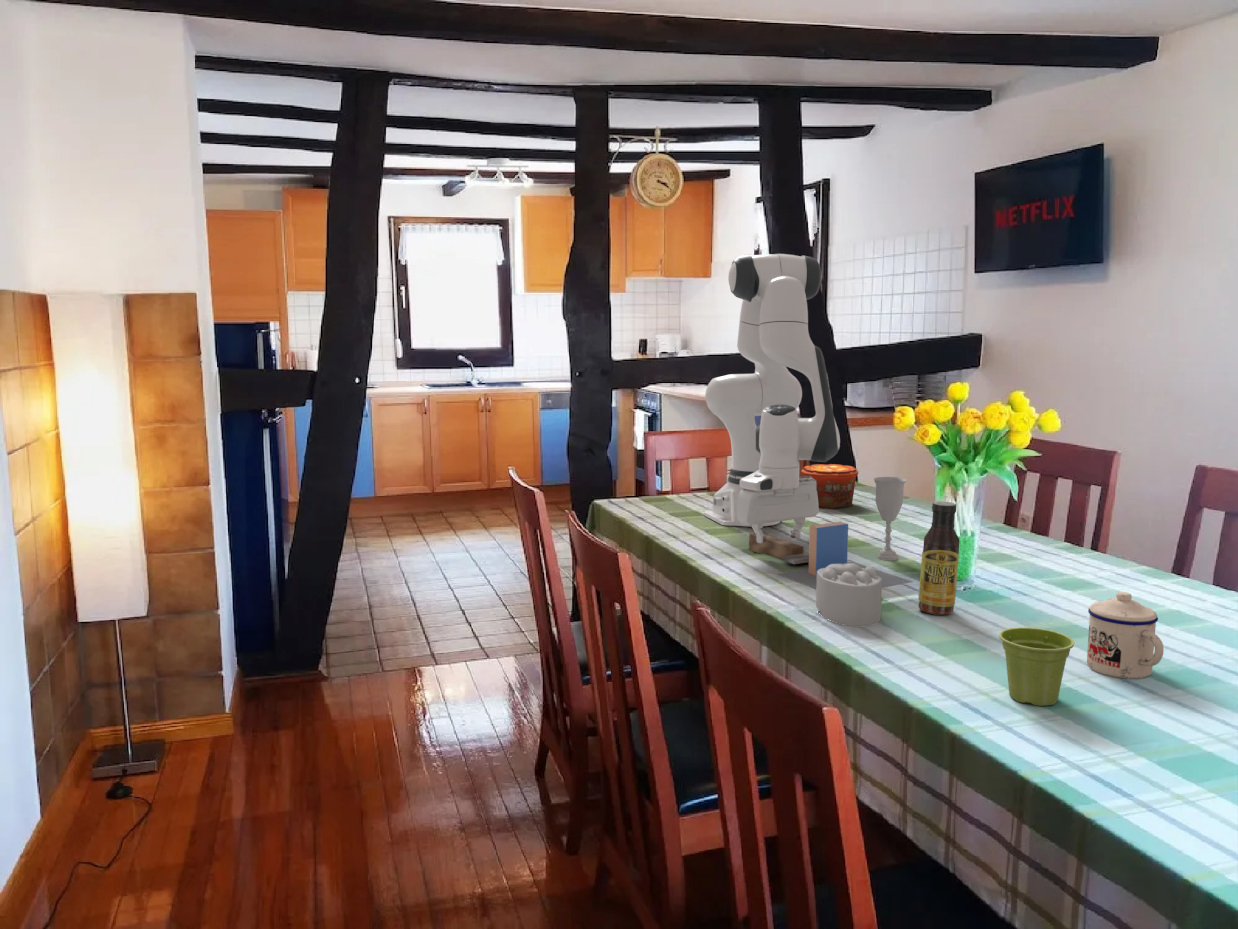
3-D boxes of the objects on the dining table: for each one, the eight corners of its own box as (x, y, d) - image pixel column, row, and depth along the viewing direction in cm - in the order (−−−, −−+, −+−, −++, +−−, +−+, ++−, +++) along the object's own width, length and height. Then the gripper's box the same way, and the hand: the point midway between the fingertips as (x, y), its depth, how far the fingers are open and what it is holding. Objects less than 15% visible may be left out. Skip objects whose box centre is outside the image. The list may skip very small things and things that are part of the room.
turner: (740, 552, 214) (740, 534, 213) (768, 547, 217) (768, 531, 217) (794, 571, 196) (794, 553, 195) (824, 566, 200) (824, 548, 199)
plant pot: (982, 688, 132) (984, 629, 130) (1039, 682, 134) (1043, 624, 133) (1024, 715, 123) (1028, 652, 121) (1086, 707, 125) (1090, 646, 123)
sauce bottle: (918, 615, 165) (922, 505, 162) (917, 605, 171) (921, 499, 168) (957, 617, 163) (962, 507, 160) (955, 607, 169) (959, 500, 166)
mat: (776, 576, 191) (776, 573, 191) (852, 564, 200) (852, 561, 200) (834, 598, 175) (834, 595, 175) (913, 584, 184) (913, 581, 184)
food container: (789, 502, 271) (790, 466, 269) (832, 497, 278) (833, 462, 277) (825, 512, 257) (825, 473, 255) (869, 506, 264) (870, 469, 263)
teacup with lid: (1071, 661, 142) (1075, 587, 140) (1121, 655, 144) (1126, 582, 142) (1131, 690, 130) (1137, 610, 129) (1185, 684, 132) (1191, 605, 131)
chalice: (905, 565, 199) (908, 482, 197) (872, 564, 201) (874, 481, 198) (901, 557, 206) (904, 477, 204) (870, 555, 208) (872, 476, 205)
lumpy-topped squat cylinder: (864, 603, 173) (866, 558, 171) (892, 625, 160) (893, 576, 159) (810, 605, 172) (811, 560, 170) (833, 628, 159) (834, 579, 158)
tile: (808, 573, 192) (809, 525, 190) (839, 568, 195) (840, 521, 194) (816, 576, 189) (817, 528, 188) (846, 570, 193) (848, 523, 191)
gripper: (806, 473, 213) (806, 532, 215) (733, 480, 203) (733, 542, 205) (825, 476, 207) (824, 537, 209) (750, 484, 198) (750, 548, 200)
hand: (778, 540), depth 207 cm, fingers open, 8 cm apart
